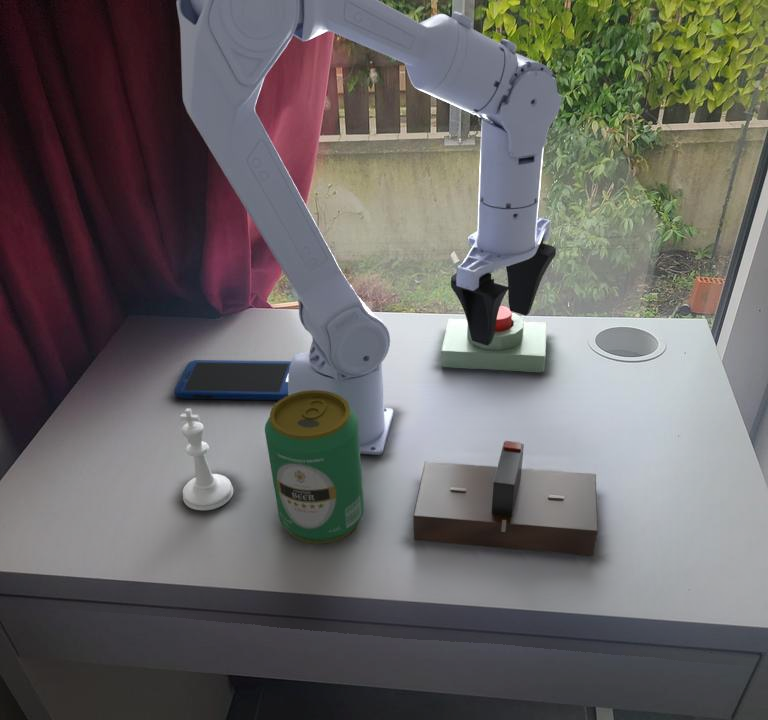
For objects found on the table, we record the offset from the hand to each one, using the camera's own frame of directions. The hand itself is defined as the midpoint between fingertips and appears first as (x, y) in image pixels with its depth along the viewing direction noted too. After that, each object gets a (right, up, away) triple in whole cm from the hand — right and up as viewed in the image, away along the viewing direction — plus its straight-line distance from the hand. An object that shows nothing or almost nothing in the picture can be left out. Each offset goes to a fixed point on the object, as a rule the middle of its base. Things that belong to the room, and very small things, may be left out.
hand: (500, 326), depth 86 cm
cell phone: (-29, -5, +9) cm, 31 cm away
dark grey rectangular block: (-1, -18, -13) cm, 22 cm away
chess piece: (-30, -18, -6) cm, 35 cm away
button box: (+1, 0, +12) cm, 12 cm away
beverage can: (-18, -20, -9) cm, 29 cm away
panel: (-1, -20, -11) cm, 23 cm away
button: (+1, +2, +10) cm, 10 cm away
